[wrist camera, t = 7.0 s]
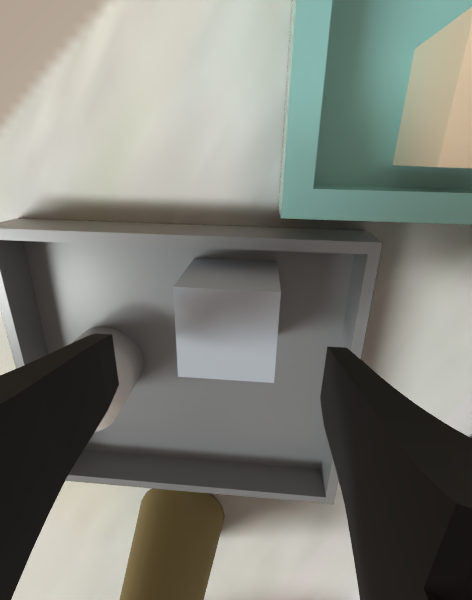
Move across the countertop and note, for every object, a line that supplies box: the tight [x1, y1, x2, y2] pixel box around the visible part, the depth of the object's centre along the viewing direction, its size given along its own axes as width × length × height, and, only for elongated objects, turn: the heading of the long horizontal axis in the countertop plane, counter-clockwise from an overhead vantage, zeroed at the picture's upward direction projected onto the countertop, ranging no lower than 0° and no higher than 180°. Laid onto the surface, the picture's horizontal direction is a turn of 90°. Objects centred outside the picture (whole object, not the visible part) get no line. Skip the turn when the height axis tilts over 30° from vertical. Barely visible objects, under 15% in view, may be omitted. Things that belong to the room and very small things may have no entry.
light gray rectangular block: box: [173, 258, 281, 383], centre depth 15 cm, size 4×4×4 cm
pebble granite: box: [72, 327, 144, 432], centre depth 17 cm, size 4×4×4 cm
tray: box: [0, 218, 382, 504], centre depth 18 cm, size 17×15×2 cm
